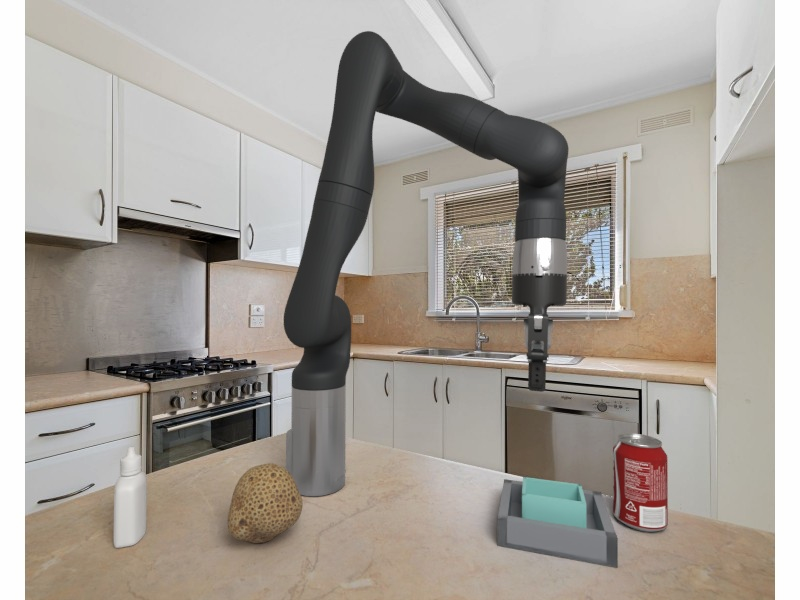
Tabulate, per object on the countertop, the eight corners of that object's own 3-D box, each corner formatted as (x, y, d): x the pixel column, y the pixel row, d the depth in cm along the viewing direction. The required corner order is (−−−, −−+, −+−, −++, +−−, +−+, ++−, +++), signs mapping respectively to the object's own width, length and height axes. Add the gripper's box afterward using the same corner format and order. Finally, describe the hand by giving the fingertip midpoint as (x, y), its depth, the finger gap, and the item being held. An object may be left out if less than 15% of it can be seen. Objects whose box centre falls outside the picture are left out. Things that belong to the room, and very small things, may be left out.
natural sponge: (313, 528, 57) (314, 456, 57) (279, 568, 48) (280, 483, 48) (256, 519, 59) (256, 450, 59) (214, 556, 50) (215, 475, 51)
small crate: (521, 531, 55) (521, 494, 55) (523, 510, 61) (523, 476, 61) (586, 542, 53) (586, 503, 53) (581, 519, 58) (581, 484, 58)
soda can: (676, 538, 55) (676, 449, 55) (621, 532, 56) (621, 445, 56) (655, 513, 61) (655, 433, 61) (607, 508, 63) (607, 430, 63)
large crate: (497, 545, 53) (497, 518, 53) (504, 501, 65) (504, 479, 65) (617, 567, 48) (617, 538, 49) (601, 515, 60) (601, 492, 60)
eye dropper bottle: (97, 547, 52) (98, 454, 52) (132, 524, 58) (133, 439, 58) (127, 551, 51) (128, 456, 52) (160, 527, 57) (161, 441, 57)
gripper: (515, 276, 67) (512, 374, 67) (509, 269, 53) (506, 392, 53) (564, 276, 64) (561, 378, 64) (570, 268, 51) (568, 398, 51)
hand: (536, 384), depth 59 cm, fingers open, 8 cm apart
